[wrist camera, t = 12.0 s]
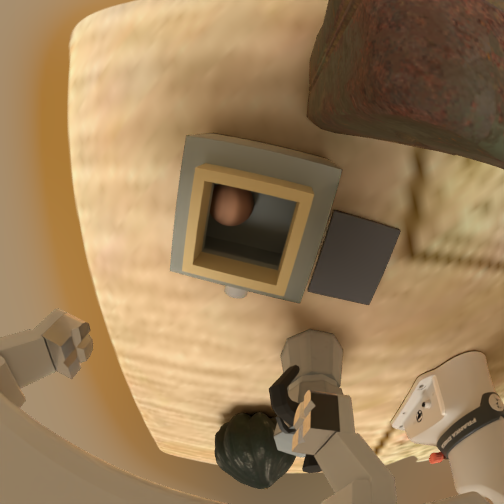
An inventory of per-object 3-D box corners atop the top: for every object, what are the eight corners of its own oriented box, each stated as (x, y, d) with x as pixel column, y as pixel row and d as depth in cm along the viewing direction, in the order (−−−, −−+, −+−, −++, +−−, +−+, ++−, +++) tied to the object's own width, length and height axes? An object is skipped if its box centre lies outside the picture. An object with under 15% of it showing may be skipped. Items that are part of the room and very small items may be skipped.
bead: (264, 190, 25) (216, 184, 24) (254, 235, 27) (208, 231, 26) (250, 178, 29) (208, 173, 27) (242, 218, 31) (201, 214, 29)
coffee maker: (356, 367, 38) (372, 475, 22) (304, 386, 41) (301, 490, 24) (312, 295, 34) (321, 425, 17) (251, 323, 37) (224, 445, 20)
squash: (194, 447, 45) (236, 507, 35) (209, 410, 39) (264, 487, 29) (252, 425, 54) (293, 476, 43) (277, 386, 48) (330, 445, 38)
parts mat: (368, 302, 33) (368, 305, 33) (307, 289, 34) (308, 291, 33) (399, 229, 29) (400, 230, 29) (334, 209, 29) (334, 211, 29)
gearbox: (291, 285, 34) (290, 346, 24) (192, 261, 34) (158, 312, 24) (328, 159, 27) (348, 175, 18) (213, 133, 28) (174, 136, 18)
